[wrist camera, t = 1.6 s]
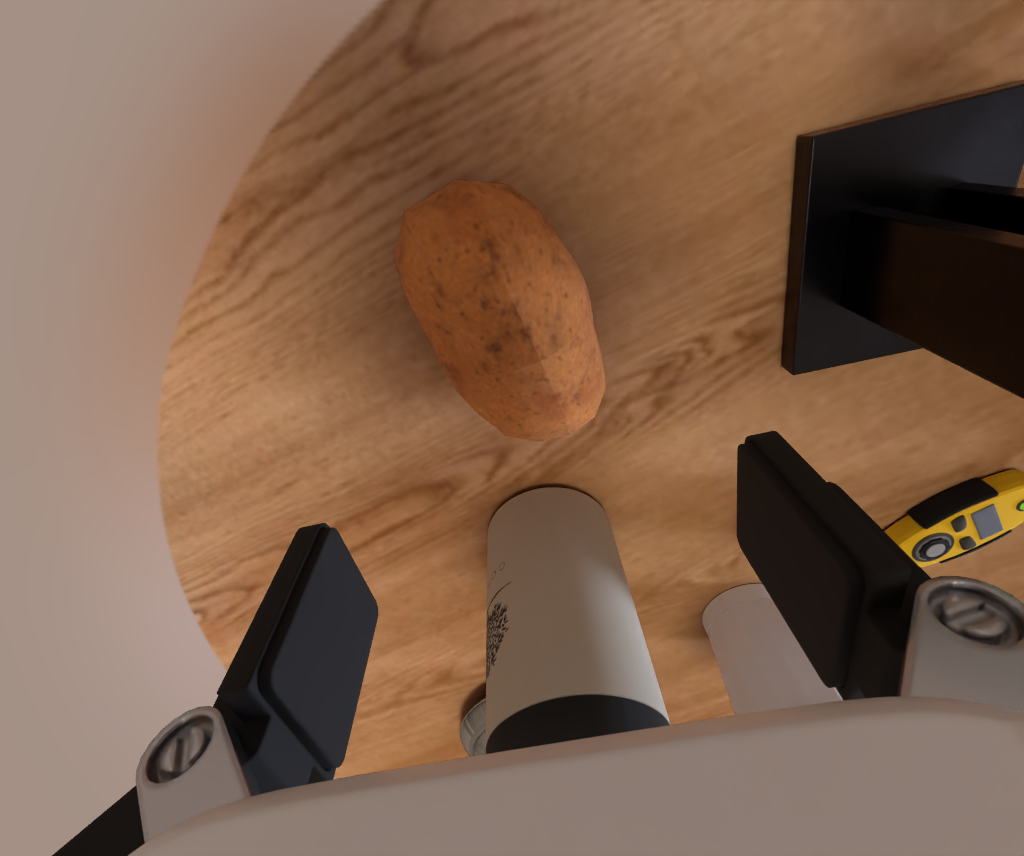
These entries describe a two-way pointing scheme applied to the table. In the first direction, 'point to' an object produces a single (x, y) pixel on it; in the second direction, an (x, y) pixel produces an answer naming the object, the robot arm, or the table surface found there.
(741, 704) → the cup
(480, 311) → the potato
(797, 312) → the bracket
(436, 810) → the robot arm
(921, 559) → the yellow handheld meter
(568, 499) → the travel mug
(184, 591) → the table surface
